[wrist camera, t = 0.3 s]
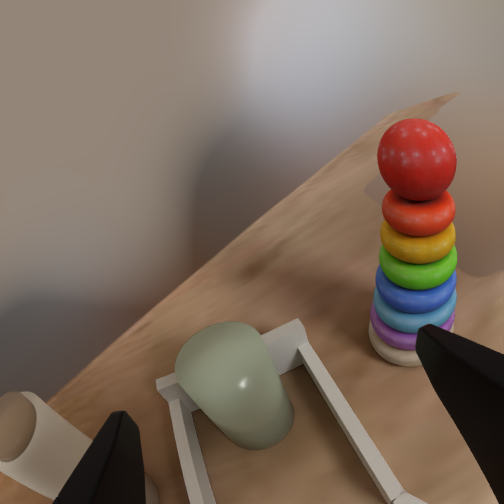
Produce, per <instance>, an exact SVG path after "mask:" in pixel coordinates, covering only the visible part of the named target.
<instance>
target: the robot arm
mask: <svg viewBox="0 0 504 504" xmlns="http://www.w3.org/2000/svg"><path fill="white" fill-rule="evenodd" d="M415 350H416V353H417V355H418V357H419V359H420V361H421V363H422V365H423V367H424V369H425V371H426V374H427V376H428V378H429V380H430V382H431V384H432V386H433V388H434V390H435V392H436V393H437V395H438V397H439V398H440V400H441V401H442V403H443V405H444V406H445V408H446V410H447V411H448V413H449V414H450V416H451V418H452V419H453V421H454V423H455V424H456V426H457V428H458V429H459V431H460V433H461V435H462V436H463V438H464V440H465V441H466V443H467V445H468V447H469V448H470V450H471V452H472V454H473V455H474V457H475V459H476V461H477V463H478V464H479V466H480V468H481V470H482V472H483V474H484V475H485V477H486V479H487V481H488V483H489V485H490V487H491V489H492V491H493V493H494V495H495V497H496V499H497V501H498V503H499V504H504V354H501V353H499V352H497V351H494V350H492V349H490V348H487V347H485V346H483V345H480V344H478V343H476V342H473V341H471V340H469V339H466V338H464V337H461V336H459V335H457V334H454V333H452V332H450V331H447V330H445V329H443V328H440V327H438V326H436V325H433V324H426V325H424V326H422V327H420V328H419V329H418V331H417V338H416V344H415ZM52 504H146V491H145V472H144V464H143V457H142V449H141V441H140V433H139V428H138V426H137V425H136V423H135V422H134V421H133V420H132V418H131V417H130V416H129V415H128V413H127V412H125V411H115V412H112V413H111V414H110V416H109V417H108V419H107V420H106V422H105V423H104V425H103V426H102V428H101V429H100V431H99V432H98V434H97V435H96V437H95V438H94V440H93V441H92V443H91V444H90V446H89V447H88V449H87V451H86V452H85V454H84V455H83V457H82V458H81V460H80V461H79V463H78V464H77V466H76V467H75V469H74V470H73V472H72V474H71V475H70V477H69V478H68V480H67V481H66V483H65V484H64V486H63V488H62V489H61V491H60V492H59V494H58V497H56V498H55V500H54V502H53V503H52Z"/></svg>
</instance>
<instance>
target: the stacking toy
mask: <svg viewBox="0 0 504 504" xmlns="http://www.w3.org/2000/svg"><path fill="white" fill-rule="evenodd" d="M377 159H378V166H379V170H380V173H381V175H382V177H383V179H384V181H385V182H386V184H387V185H388V186H389V187H390V188H391V190H390V191H389V192H388V193H387V194H386V195H385V197H384V199H383V203H382V213H383V216H384V218H385V220H384V221H383V223H382V225H381V230H380V237H381V241H382V245H381V248H380V253H379V262H380V265H379V267H378V269H377V272H376V287H375V290H374V295H373V302H372V305H371V310H370V318H371V319H370V323H369V338H370V341H371V344H372V346H373V347H374V349H375V350H376V352H377V353H378V354H379V355H380V356H381V357H383V358H384V359H385V360H387V361H389V362H391V363H393V364H396V365H400V366H406V367H415V366H422V363H421V361H420V359H419V357H418V355H417V353H416V350H415V344H416V338H417V331H418V329H419V328H420V327H422V326H424V325H426V324H433V325H436V326H438V327H440V328H443V329H445V330H447V331H450V332H452V333H454V317H455V305H456V298H457V296H456V289H455V286H456V271H455V267H456V264H457V251H456V248H455V246H454V243H455V239H456V233H455V228H454V225H453V223H452V221H453V219H454V216H455V203H454V200H453V198H452V197H451V195H450V194H449V193H448V192H447V191H446V189H447V188H448V187H449V185H450V184H451V182H452V180H453V178H454V175H455V171H456V153H455V149H454V147H453V144H452V142H451V140H450V139H449V137H448V135H447V134H446V133H445V132H444V131H443V130H442V129H441V128H440V127H438V126H437V125H435V124H433V123H431V122H429V121H426V120H423V119H406V120H402V121H399V122H397V123H395V124H394V125H392V126H391V127H390V128H389V129H388V130H387V131H386V132H385V133H384V135H383V137H382V138H381V141H380V143H379V147H378V154H377Z"/></svg>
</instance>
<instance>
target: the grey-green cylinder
mask: <svg viewBox="0 0 504 504" xmlns="http://www.w3.org/2000/svg"><path fill="white" fill-rule="evenodd" d="M175 376H176V379H177V381H178V383H179V384H180V386H181V387H182V388H183V389H184V391H185V392H186V393H187V394H188V395H189V396H190V397H191V399H192V400H193V401H194V402H195V403H196V404H197V405H198V406H199V407H200V409H201V410H202V411H203V412H204V413H205V414H206V415H207V416H208V417H209V418H210V419H211V420H212V422H213V423H214V424H215V425H216V426H217V427H218V428H219V429H220V430H221V431H222V432H223V433H224V434H225V435H226V436H227V437H228V438H229V439H230V440H231V441H232V442H233V443H234V444H236V445H237V446H239V447H241V448H244V449H249V450H261V449H265V448H268V447H271V446H273V445H275V444H277V443H278V442H280V441H281V440H282V439H283V438H284V437H285V436H286V435H287V434H288V432H289V431H290V429H291V427H292V424H293V421H294V409H293V405H292V403H291V401H290V399H289V396H288V394H287V392H286V390H285V388H284V386H283V383H282V381H281V379H280V377H279V375H278V372H277V370H276V368H275V366H274V364H273V361H272V359H271V357H270V355H269V352H268V350H267V348H266V346H265V343H264V341H263V339H262V337H261V335H260V334H259V332H258V331H257V330H256V329H254V328H253V327H252V326H250V325H248V324H245V323H241V322H235V321H229V322H221V323H217V324H213V325H211V326H208V327H206V328H204V329H202V330H201V331H199V332H197V333H196V334H195V335H193V336H192V337H191V338H190V339H189V340H188V341H187V342H186V343H185V344H184V346H183V347H182V348H181V350H180V352H179V354H178V356H177V359H176V362H175Z"/></svg>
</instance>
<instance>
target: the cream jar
mask: <svg viewBox="0 0 504 504" xmlns="http://www.w3.org/2000/svg"><path fill="white" fill-rule="evenodd" d="M92 441H93V440H92V439H90V438H89V437H88V436H86V435H85V434H84V433H82V432H81V431H80V430H78V429H77V428H76V427H74V426H73V425H72V424H70V423H69V422H68V421H66V420H65V419H64V418H63V417H61V416H60V415H59V414H58V413H57V412H55V411H54V410H53V409H52V408H51V407H49V406H48V405H47V404H46V403H45V402H44V401H42V400H41V399H40V398H39V397H38V396H37V395H36V394H34V393H31V392H17V391H13V392H9V393H7V394H5V395H3V396H2V397H1V398H0V471H1V472H3V473H4V474H6V475H8V476H9V477H11V478H13V479H14V480H16V481H18V482H19V483H21V484H23V485H25V486H27V487H28V488H30V489H32V490H34V491H36V492H38V493H40V494H42V495H44V496H46V497H48V498H50V499H52V500H55V498H56V497H58V494H59V492H60V491H61V489H62V488H63V486H64V484H65V483H66V481H67V480H68V478H69V477H70V475H71V474H72V472H73V470H74V469H75V467H76V466H77V464H78V463H79V461H80V460H81V458H82V457H83V455H84V454H85V452H86V451H87V449H88V447H89V446H90V444H91V443H92ZM145 491H146V504H159V492H158V489H157V486H156V484H155V483H154V481H153V480H152V479H151V478H150V477H149V476H148V475H147V474H145Z"/></svg>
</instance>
